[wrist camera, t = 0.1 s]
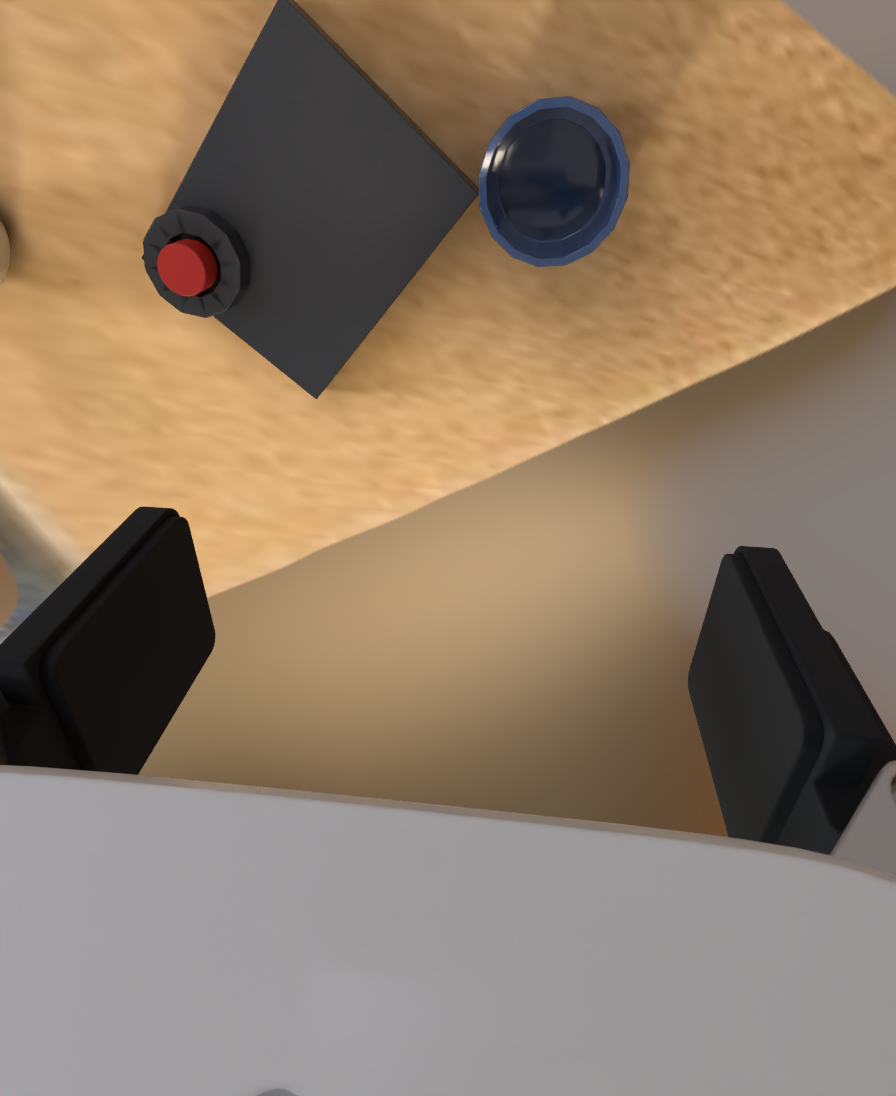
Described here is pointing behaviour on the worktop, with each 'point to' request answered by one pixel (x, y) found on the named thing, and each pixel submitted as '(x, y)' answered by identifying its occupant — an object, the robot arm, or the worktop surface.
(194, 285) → the button
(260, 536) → the worktop surface
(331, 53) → the scale
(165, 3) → the worktop surface
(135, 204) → the worktop surface
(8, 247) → the silver bottle
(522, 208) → the cup
